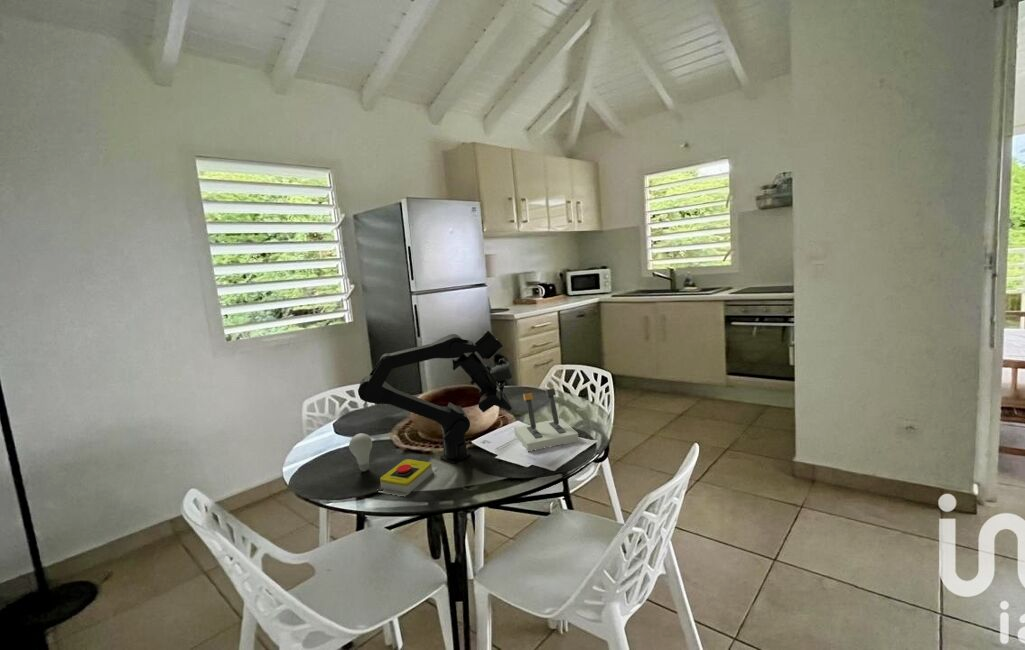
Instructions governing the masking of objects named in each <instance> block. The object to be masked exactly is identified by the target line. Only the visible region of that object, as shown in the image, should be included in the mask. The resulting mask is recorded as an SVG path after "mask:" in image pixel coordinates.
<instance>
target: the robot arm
mask: <svg viewBox="0 0 1025 650" xmlns="http://www.w3.org/2000/svg"><path fill="white" fill-rule="evenodd" d="M503 348H504V345H503V344H502V343H501V342H500V341H499V339H498V338H497V337H495V336H494V335H493V334H492V332H490V330H488V329H486V330H485V331H483V333H482V334H481V335H480V336H479V337H478V338H477V339H476V340H474V341H472V340H470V339H464V338H462V337H461V336H460V335H458V334H456V333H451V334H448V335H446V336H443V337H441V338H439V339H437V340H435V341H434V342H432V343H428V344H425V345H420V346H415V347H411V348H407V349H403V350H399V351H395V352H391V353H389V352H386V353H384V354H382V355H381V356H380V359H379V360H378V362H377V363H376V365H375V366H374V367H373V368H372V370H371V372H370V373H369V374H368V375H365V377H363V378H362V379H361V381H360V382H359V387H358V392H357V393H358V396H359V398H360V400H362V401H363V402H365V403H370V404H374V405H375V404H376V405H390V406H393V407H396V408H399V409H401V410H404V411H406V412H409V413H412V414H414V415H417V416H420V417H424V418H426V419H429V420H431V421H433V422H436V423H438V424H439V425H440V428H441V431H442V432H441V433H442V437H441V439H442V447H443V448H442V449H443V454H442V455H440V457H439V458H440V459H441V460H444V461H446V462H449V463H452V464H457V463H459V462H461V461H462V460H464V459H466V458H467V457H469V456H471V452H469V451H468V449H467V442H466V433H467V432H468V431H469V430H470V426H471V421H470V418H469V417H468V415H467V413H466V411H465V410H464V409H463V408H462V405H460V406H459V405H455V404H454V403H452V402H451V401H449V402H448V404H447V406H441V405H438V404H435V403H433V402H430V401H427V400H425V399H422V398H420V397H417V396H414V395H412V394H409V393H406V392H404V391H400V390H398V389H396V388H394V387H393V386H391V384H389V383H388V382H386V380H387V378H388V376H389V374H390V373H391V371H392V370H393V369H396V368H400V367H404V366H408V365H413V364H417V363H421V362H424V361H429V360H433V359H447V360H448V359H451V362H452V363H451V369H452V370H453V371H455V370H457V369H458V368H460V370H462V371H463V373H465V375H466V376H467V378H469V379H470V381H469V383H470V384H471V385H472V386H473V385H475V386H476V387H477V388H478V389H479V392H478V393H479V394H480V395H481V397H480V399H479V402H478V409H479V410H480V411H481V412H482V413H485V412H487V411H488V410H490V409H491V408H492V407H494V406H496V407H499V408H502V409H504V410H505V411H508V412H509V411H511V410H512V409H513V408H512V407H513V406H512V404H511V402H510V400H509V398H508V396H507V395H506V392H505V383H506V382H505V380H511V379H512V378H513V374H514V371H513V368H512V363H510V362H509V361H507V359H505V358H499V360H498V364H496V365H495V366H494V367H492V366H491V365H490V364H488V363H486V364H485V363H484V362H483V361H482V360H488V361H489V360H491V358H493V357H494V356H495V355H496V354H497V353H499V352H500V351H501V350H502V349H503ZM476 353H477V354H478V355H479V356H478V355H477V354H476ZM480 358H482V360H481V359H480ZM502 381H503V382H502ZM500 382H502V383H500Z"/></svg>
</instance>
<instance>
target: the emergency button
mask: <svg viewBox="0 0 1025 650" xmlns="http://www.w3.org/2000/svg"><path fill="white" fill-rule="evenodd" d="M437 470H438V467H436V466H433V465H432V463H431V462H430V461H429V462H428V461H422V460H415V459H411V458H410V459H409V458H406V459H403V460H402V461H401V462H400V463H398V464H397V465H396V466H394V467H393V468H392V469H390V470H389V471H388V472H386V473H385V474H384V475H382V476H381V477H380V480H379V481H380V487H381V488H383V489H385V490H383V491H378V492H377V493H380V494H385V495H390V494H392V495H391V496H395V495H397V496H396V497H400V496H404V497H406V495H407V496H408V495H409V494H411V491H412V490H413V489H414V490H415V489H416V488H417V487H419V486H420V485H421V484H422V483H423V482H424V481H426V479H428V478H429V477H431V475H433V473H435V472H436V471H437ZM414 490H413V491H414ZM393 491H394V492H393ZM395 491H396V492H395ZM413 491H412V492H413ZM399 493H400V494H401V495H400V494H399ZM403 494H404V495H403Z"/></svg>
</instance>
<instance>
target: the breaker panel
mask: <svg viewBox="0 0 1025 650" xmlns="http://www.w3.org/2000/svg"><path fill="white" fill-rule="evenodd" d="M545 395H546V397H547V398H548V400H549V406H550V409H551V410H550V411H551V415H552V419H551V420H546V421H541V422H535V423H536V429H532V428H531V425H530V424H526V425H521V426H515V427H514V428H513V430H514V436H515V435H516V436H517V437H516V436H515V437H516V438H518V439H519V440H520V441H519V440H518V439H517V440H518V441H519V442H521V443H522V444H523V445H522V444H521V443H520V444H521V445H522V447H523V448H524V447H525V448H526V449H525V448H524V449H525V451H526V452H527V451H531V450H535V449H540V448H544V447H549V448H551V447H550V446H554V447H556V446H555V445H559V446H561V445H560V444H563V445H566V444H565V443H568V444H572V442H573V443H577V442H579V441H580V439H579V433H578V431H576V430H575V429H574V428H572V426H570V424H568V422H566V420H564V419H563V418H559V415H558V411H557V405H556V401H555V396H556V391H555V388H550V389H545ZM540 450H541V449H540ZM535 451H536V450H535ZM531 452H532V451H531Z"/></svg>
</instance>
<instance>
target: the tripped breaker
mask: <svg viewBox="0 0 1025 650" xmlns="http://www.w3.org/2000/svg"><path fill="white" fill-rule="evenodd" d="M522 397H523V402H524V401H525V403H526V407H527V408H526V409H527V412H528V414H527V415H528V419H529V425H531V428H532V429H536V423H537V422H536V418H535V413H534V408H533V401H532V400H534V396H533V393H532V392H528V393H523V394H522Z"/></svg>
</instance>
